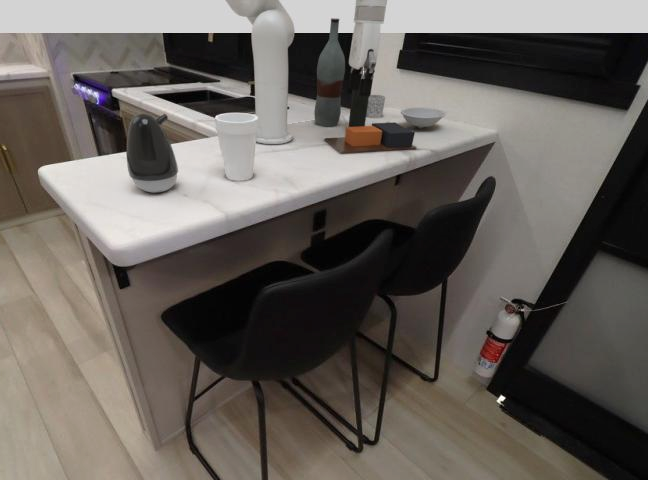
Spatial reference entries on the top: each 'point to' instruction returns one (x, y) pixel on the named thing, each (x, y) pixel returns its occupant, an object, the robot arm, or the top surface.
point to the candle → (358, 109)
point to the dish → (422, 116)
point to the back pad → (395, 135)
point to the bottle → (330, 80)
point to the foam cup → (237, 143)
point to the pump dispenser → (150, 154)
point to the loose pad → (363, 136)
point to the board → (347, 148)
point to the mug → (375, 106)
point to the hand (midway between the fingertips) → (359, 92)
